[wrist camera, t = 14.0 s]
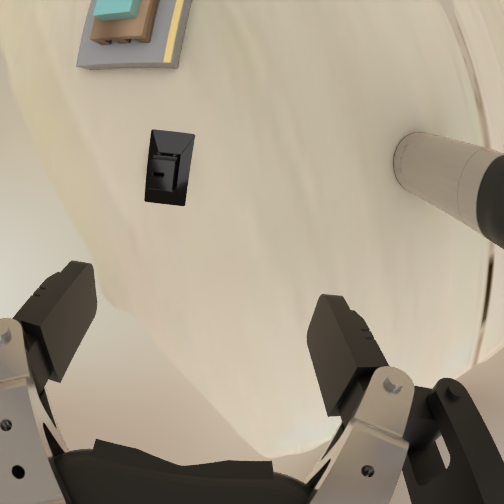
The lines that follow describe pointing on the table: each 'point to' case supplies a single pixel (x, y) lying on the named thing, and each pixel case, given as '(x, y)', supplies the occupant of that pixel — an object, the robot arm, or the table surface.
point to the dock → (134, 53)
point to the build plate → (168, 167)
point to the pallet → (127, 26)
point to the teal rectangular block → (116, 9)
